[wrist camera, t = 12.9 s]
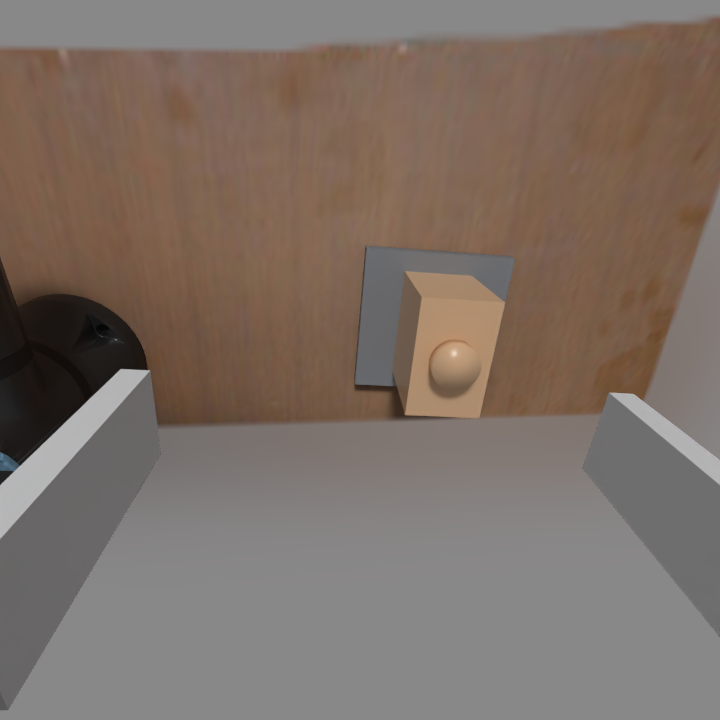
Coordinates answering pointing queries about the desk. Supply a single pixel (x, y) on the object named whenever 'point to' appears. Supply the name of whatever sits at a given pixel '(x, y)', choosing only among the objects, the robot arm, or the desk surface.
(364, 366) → the grey square plate
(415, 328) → the tan block with dome
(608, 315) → the desk surface
